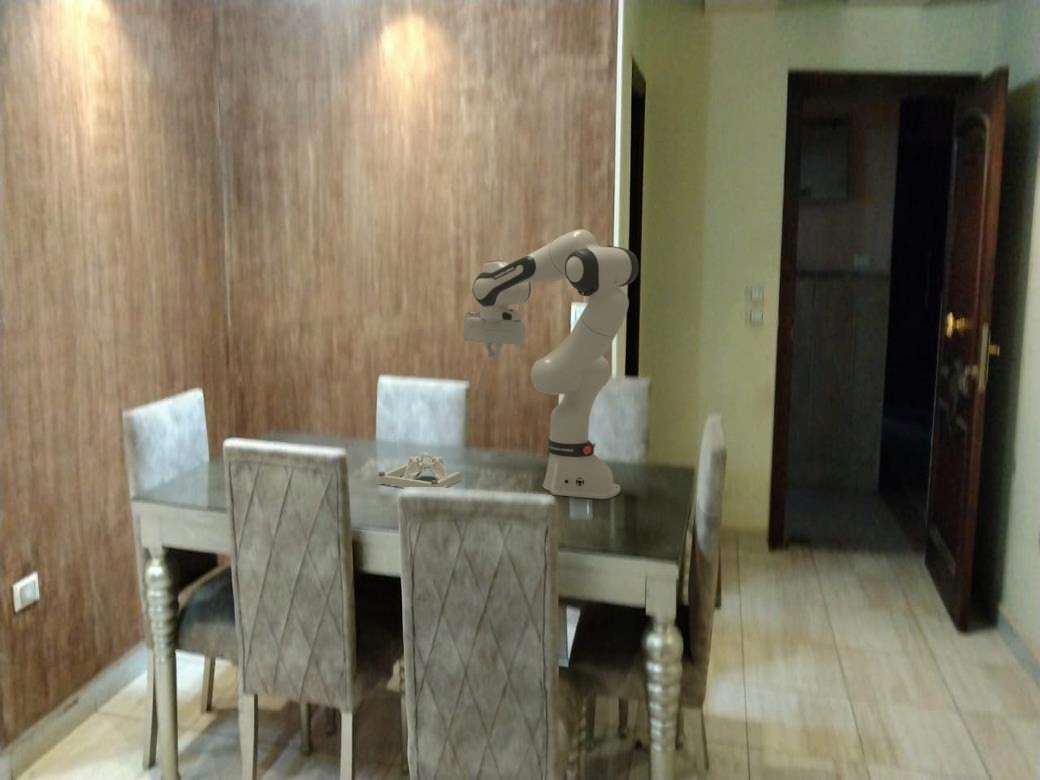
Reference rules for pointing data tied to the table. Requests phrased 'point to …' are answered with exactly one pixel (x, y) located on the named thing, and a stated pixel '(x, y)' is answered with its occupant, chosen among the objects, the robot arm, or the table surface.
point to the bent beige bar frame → (394, 479)
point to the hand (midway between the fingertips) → (493, 357)
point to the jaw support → (425, 466)
